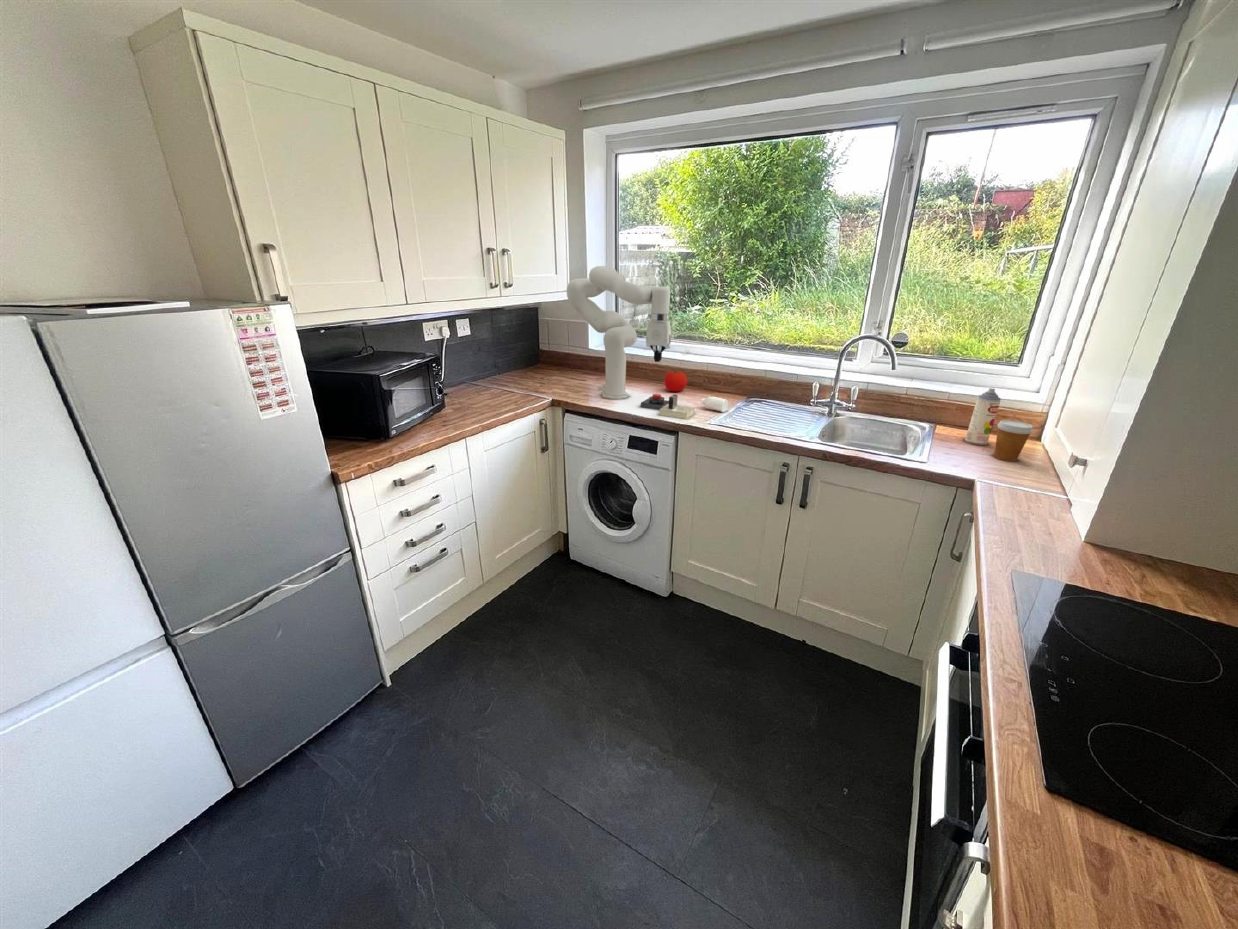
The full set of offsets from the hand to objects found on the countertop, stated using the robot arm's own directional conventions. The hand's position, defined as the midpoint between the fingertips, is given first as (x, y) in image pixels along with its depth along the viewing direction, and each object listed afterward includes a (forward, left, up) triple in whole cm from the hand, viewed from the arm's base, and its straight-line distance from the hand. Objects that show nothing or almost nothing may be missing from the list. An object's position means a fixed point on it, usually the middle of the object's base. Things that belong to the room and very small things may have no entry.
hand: (657, 361), depth 217 cm
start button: (+2, -4, -16) cm, 16 cm away
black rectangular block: (+12, -11, -17) cm, 23 cm away
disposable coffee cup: (+129, -7, -19) cm, 131 cm away
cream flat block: (+14, -11, -19) cm, 26 cm away
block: (+2, -4, -19) cm, 20 cm away
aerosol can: (+123, +8, -19) cm, 125 cm away
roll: (+25, +4, -19) cm, 32 cm away
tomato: (-1, +29, -19) cm, 35 cm away
